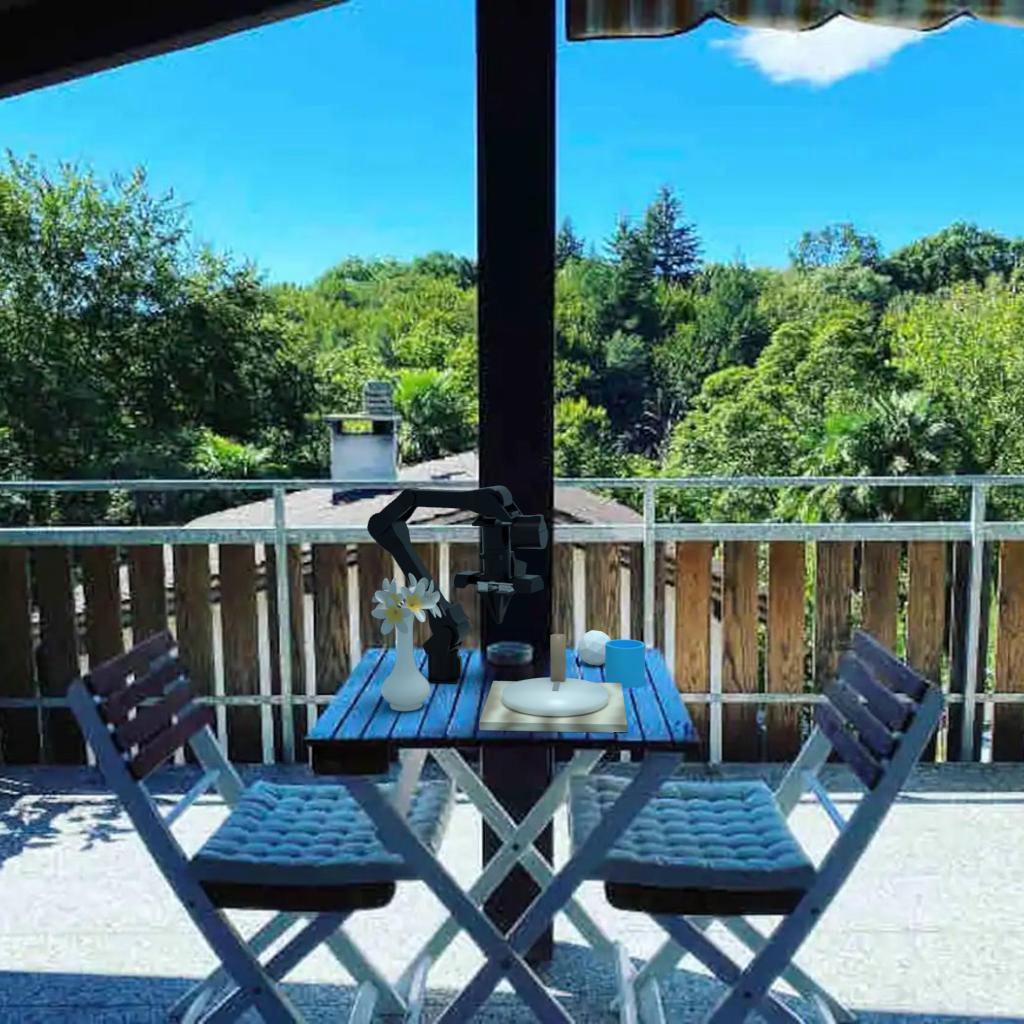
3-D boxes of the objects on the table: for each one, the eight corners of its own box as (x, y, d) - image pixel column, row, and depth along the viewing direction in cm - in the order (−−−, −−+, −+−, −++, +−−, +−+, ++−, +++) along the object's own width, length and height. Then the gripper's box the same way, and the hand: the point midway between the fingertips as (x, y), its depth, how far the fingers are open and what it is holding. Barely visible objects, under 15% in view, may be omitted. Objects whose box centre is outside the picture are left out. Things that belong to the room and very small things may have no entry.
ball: (603, 677, 215) (615, 654, 210) (569, 664, 215) (581, 641, 210) (609, 654, 221) (620, 631, 216) (576, 641, 221) (587, 618, 216)
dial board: (479, 730, 172) (479, 720, 172) (493, 688, 197) (493, 679, 197) (627, 732, 170) (627, 723, 170) (621, 690, 196) (621, 681, 195)
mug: (645, 688, 197) (645, 649, 196) (605, 687, 198) (605, 648, 197) (643, 672, 209) (643, 635, 208) (605, 671, 210) (605, 634, 209)
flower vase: (368, 724, 175) (365, 587, 173) (378, 694, 194) (376, 570, 191) (440, 722, 176) (438, 587, 173) (443, 693, 194) (442, 570, 191)
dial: (606, 717, 172) (607, 660, 171) (495, 714, 175) (495, 657, 174) (609, 686, 192) (609, 634, 191) (509, 683, 195) (508, 632, 193)
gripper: (555, 544, 199) (557, 619, 201) (479, 541, 209) (482, 612, 211) (528, 552, 190) (530, 630, 192) (450, 547, 200) (453, 622, 201)
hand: (499, 623), depth 199 cm, fingers closed
